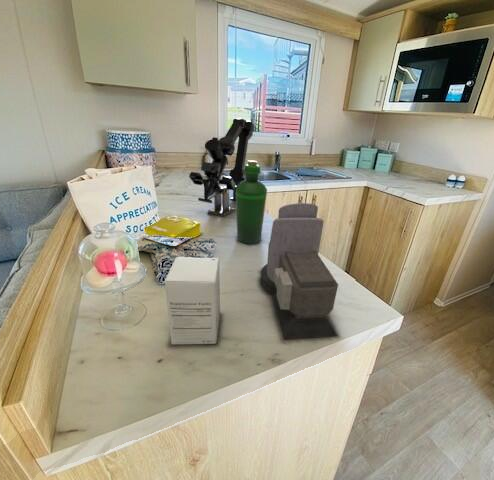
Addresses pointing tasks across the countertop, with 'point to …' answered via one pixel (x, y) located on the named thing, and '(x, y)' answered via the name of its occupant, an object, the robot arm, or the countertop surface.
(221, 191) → the tap lever
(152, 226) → the element tile
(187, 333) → the white product box
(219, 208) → the tap bracket
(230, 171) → the robot arm
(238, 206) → the bottle
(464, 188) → the countertop surface
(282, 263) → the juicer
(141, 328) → the countertop surface
